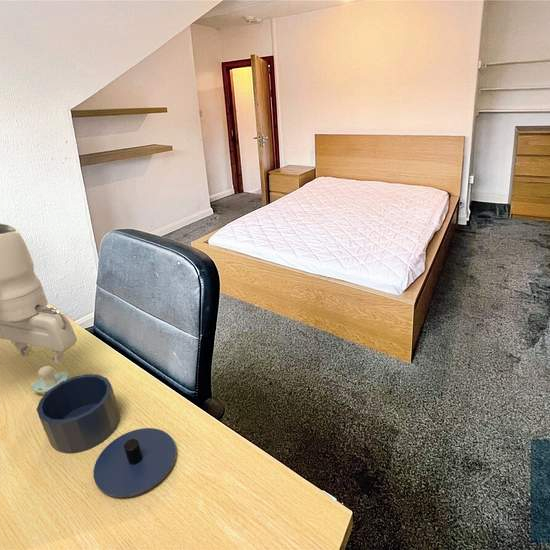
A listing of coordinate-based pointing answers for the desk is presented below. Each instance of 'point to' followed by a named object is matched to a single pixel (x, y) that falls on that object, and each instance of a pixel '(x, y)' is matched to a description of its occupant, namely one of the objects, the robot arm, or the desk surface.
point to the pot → (79, 413)
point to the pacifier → (48, 379)
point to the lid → (134, 462)
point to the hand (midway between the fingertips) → (43, 358)
